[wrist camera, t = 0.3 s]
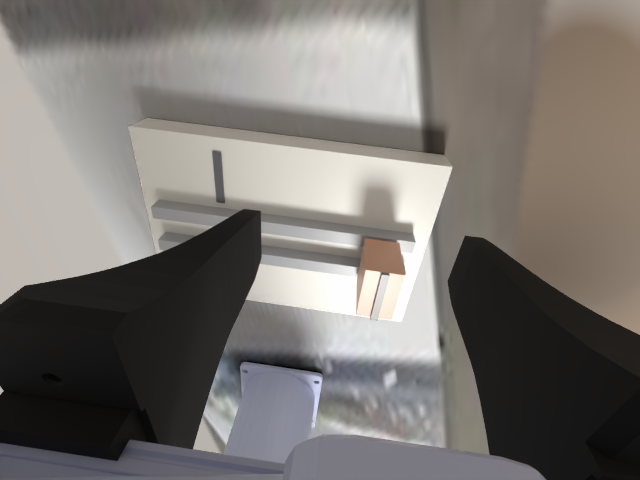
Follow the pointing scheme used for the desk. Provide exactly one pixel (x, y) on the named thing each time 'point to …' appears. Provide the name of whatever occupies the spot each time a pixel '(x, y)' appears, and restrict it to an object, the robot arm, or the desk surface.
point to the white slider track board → (291, 203)
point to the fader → (379, 279)
